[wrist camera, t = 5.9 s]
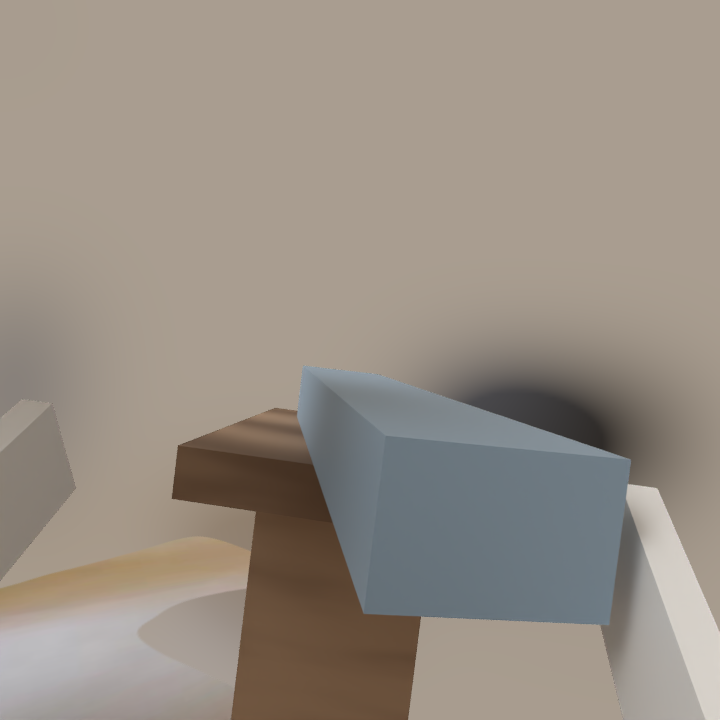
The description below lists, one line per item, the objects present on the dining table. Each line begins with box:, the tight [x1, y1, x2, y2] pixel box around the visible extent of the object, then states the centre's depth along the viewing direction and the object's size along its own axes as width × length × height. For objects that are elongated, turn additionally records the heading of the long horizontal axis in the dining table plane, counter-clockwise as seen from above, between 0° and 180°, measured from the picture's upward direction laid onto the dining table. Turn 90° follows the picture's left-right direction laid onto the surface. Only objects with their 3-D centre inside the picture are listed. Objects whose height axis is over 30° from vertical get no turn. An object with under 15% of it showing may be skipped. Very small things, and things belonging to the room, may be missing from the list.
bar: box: [297, 366, 631, 625], centre depth 22 cm, size 24×4×3 cm, turn 9°
